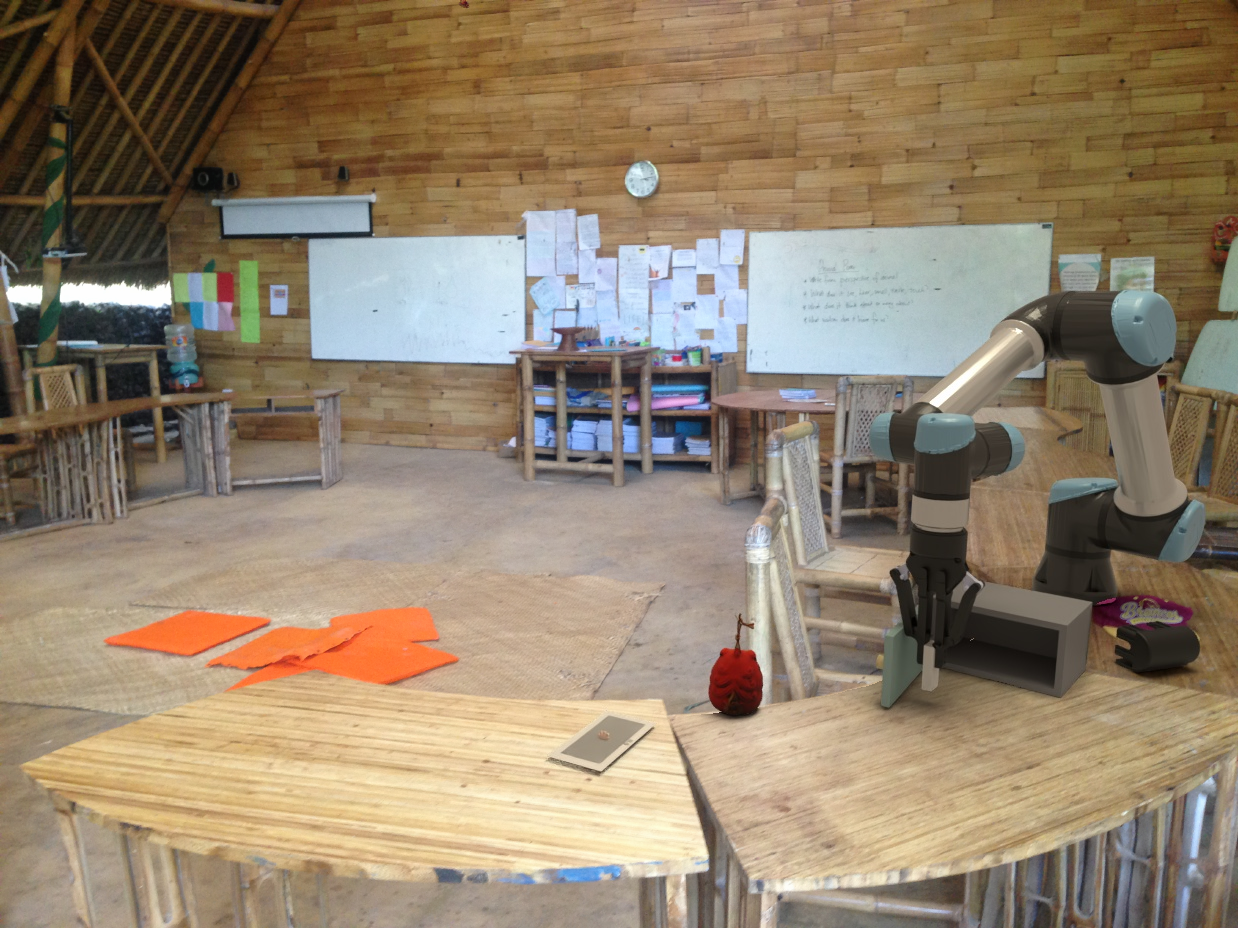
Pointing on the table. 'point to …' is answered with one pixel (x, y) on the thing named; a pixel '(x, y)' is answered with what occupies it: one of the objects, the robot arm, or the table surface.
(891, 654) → the pale green rectangular block
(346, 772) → the table surface
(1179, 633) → the end cap
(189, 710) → the table surface
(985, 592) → the cabinet
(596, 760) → the touchpad
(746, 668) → the red clay folk toy
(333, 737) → the table surface
